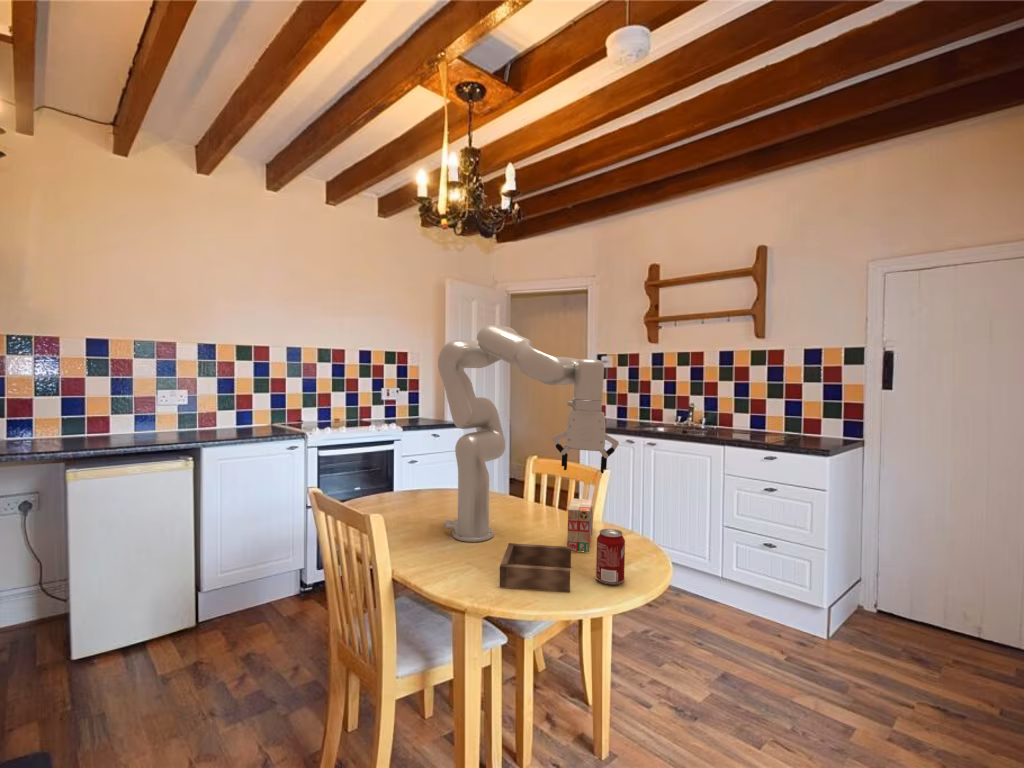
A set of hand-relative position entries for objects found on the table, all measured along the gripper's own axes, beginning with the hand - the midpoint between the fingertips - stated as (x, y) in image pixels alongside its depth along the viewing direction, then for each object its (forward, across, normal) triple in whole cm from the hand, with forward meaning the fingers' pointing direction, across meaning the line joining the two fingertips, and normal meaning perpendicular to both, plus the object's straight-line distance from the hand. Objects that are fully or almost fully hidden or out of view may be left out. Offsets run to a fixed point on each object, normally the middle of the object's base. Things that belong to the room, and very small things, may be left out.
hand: (583, 470), depth 136 cm
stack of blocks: (+26, 0, +18) cm, 31 cm away
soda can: (+25, +8, -10) cm, 28 cm away
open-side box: (+25, -10, -11) cm, 29 cm away
